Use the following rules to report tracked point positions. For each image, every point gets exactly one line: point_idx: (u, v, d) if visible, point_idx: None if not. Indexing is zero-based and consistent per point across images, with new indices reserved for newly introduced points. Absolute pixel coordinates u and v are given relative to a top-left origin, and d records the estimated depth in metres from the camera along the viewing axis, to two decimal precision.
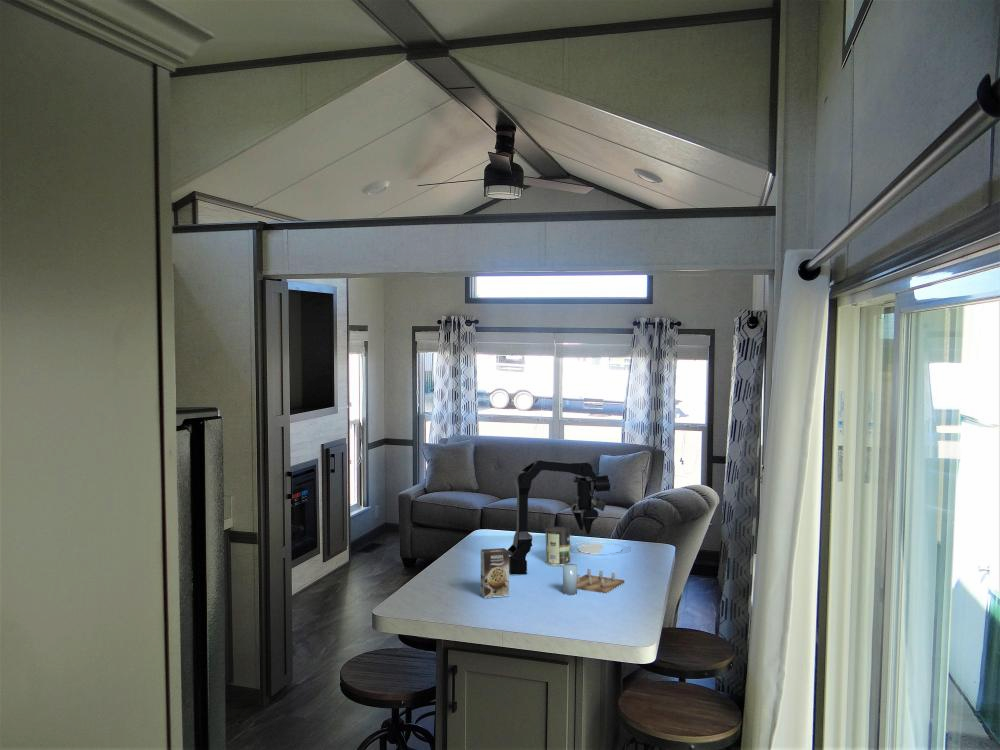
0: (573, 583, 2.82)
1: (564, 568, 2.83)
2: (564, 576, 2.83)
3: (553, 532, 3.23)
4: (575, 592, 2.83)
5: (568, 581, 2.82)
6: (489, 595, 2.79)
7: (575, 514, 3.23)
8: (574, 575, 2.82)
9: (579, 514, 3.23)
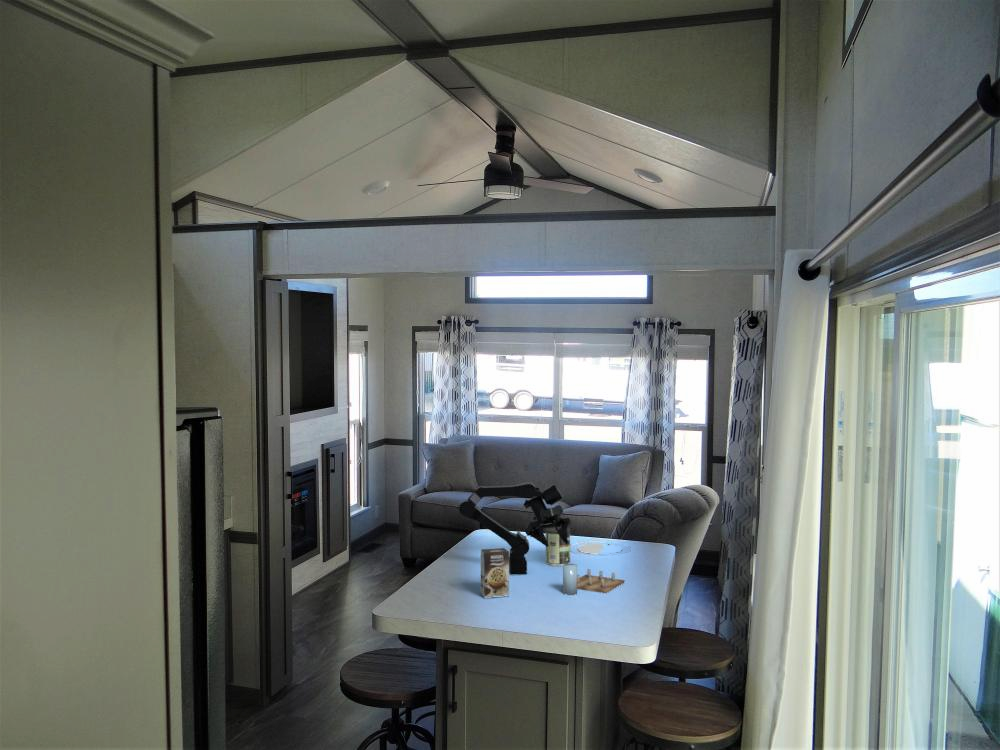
0: (573, 583, 2.82)
1: (564, 568, 2.83)
2: (564, 576, 2.83)
3: (553, 532, 3.23)
4: (575, 592, 2.83)
5: (568, 581, 2.82)
6: (489, 595, 2.79)
7: (558, 532, 3.10)
8: (574, 575, 2.82)
9: (560, 530, 3.09)
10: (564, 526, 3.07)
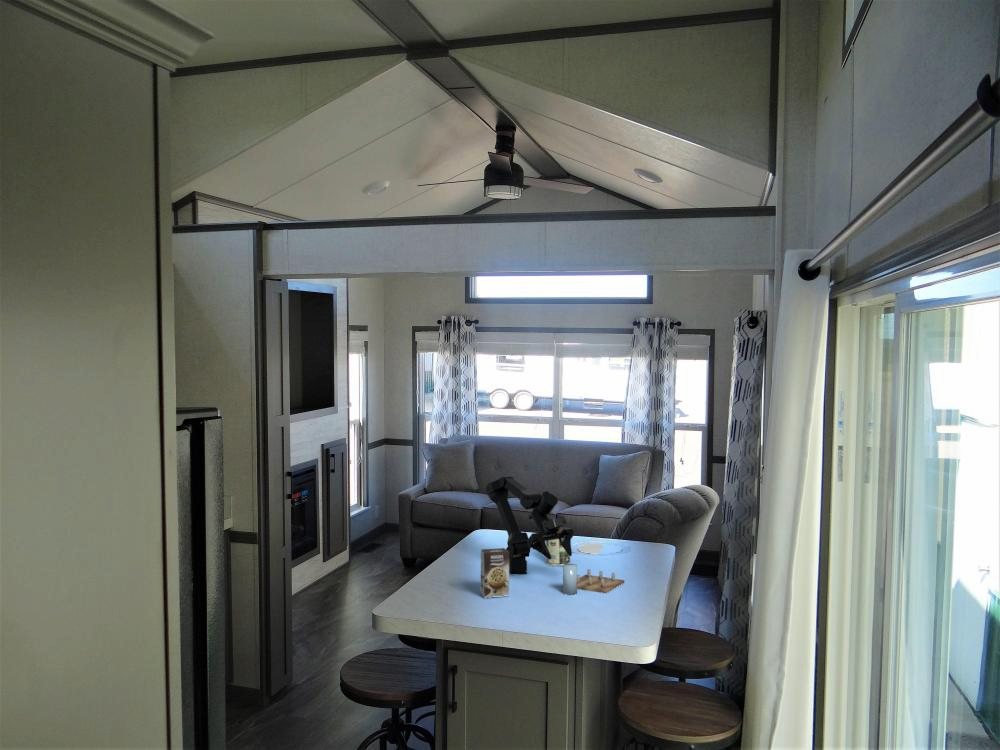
0: (573, 583, 2.82)
1: (564, 568, 2.83)
2: (564, 576, 2.83)
3: None
4: (575, 592, 2.83)
5: (568, 581, 2.82)
6: (489, 595, 2.79)
7: (562, 544, 2.96)
8: (574, 575, 2.82)
9: (563, 541, 2.95)
10: (568, 537, 2.94)
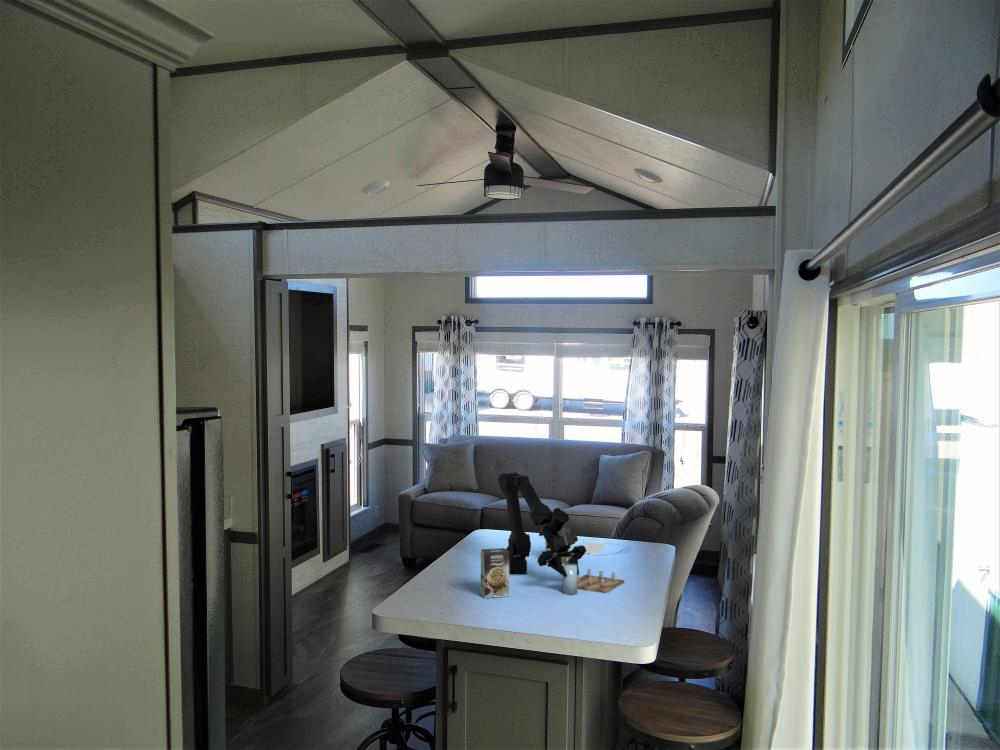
0: (573, 583, 2.82)
1: (564, 568, 2.83)
2: None
3: None
4: (575, 592, 2.83)
5: (568, 581, 2.82)
6: (489, 595, 2.79)
7: (568, 562, 2.90)
8: (574, 575, 2.82)
9: (571, 560, 2.89)
10: (575, 556, 2.87)
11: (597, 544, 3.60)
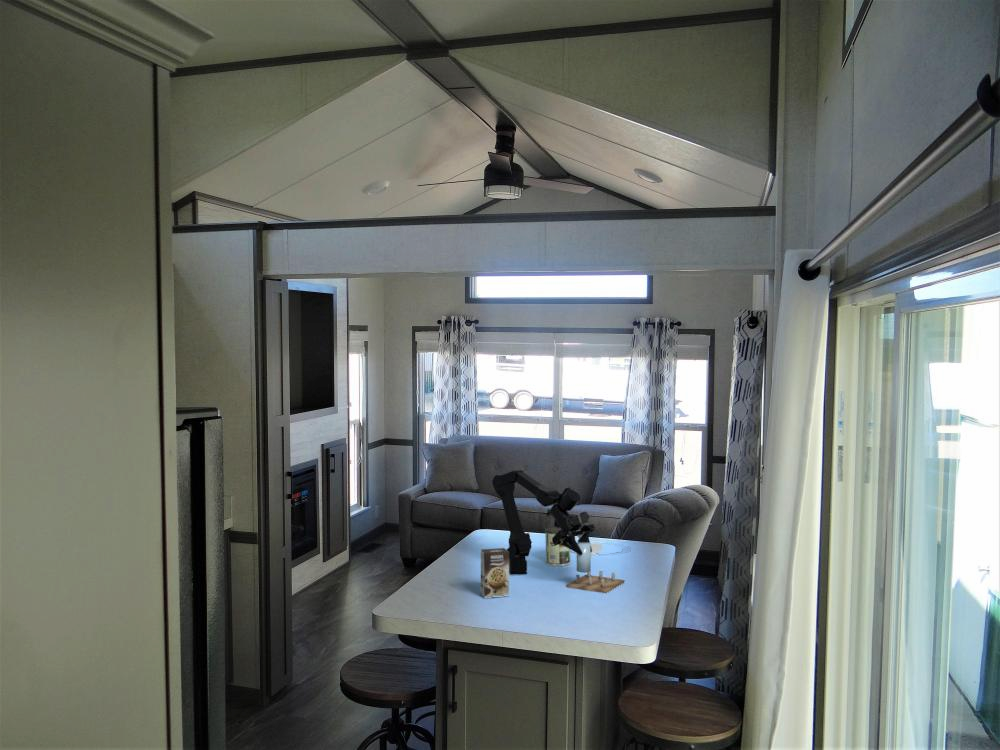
0: (588, 560, 2.87)
1: (579, 546, 2.87)
2: None
3: (553, 532, 3.23)
4: (589, 569, 2.87)
5: (583, 559, 2.86)
6: (489, 595, 2.79)
7: (579, 541, 2.94)
8: (588, 552, 2.87)
9: (581, 538, 2.93)
10: (586, 534, 2.92)
11: (597, 544, 3.60)
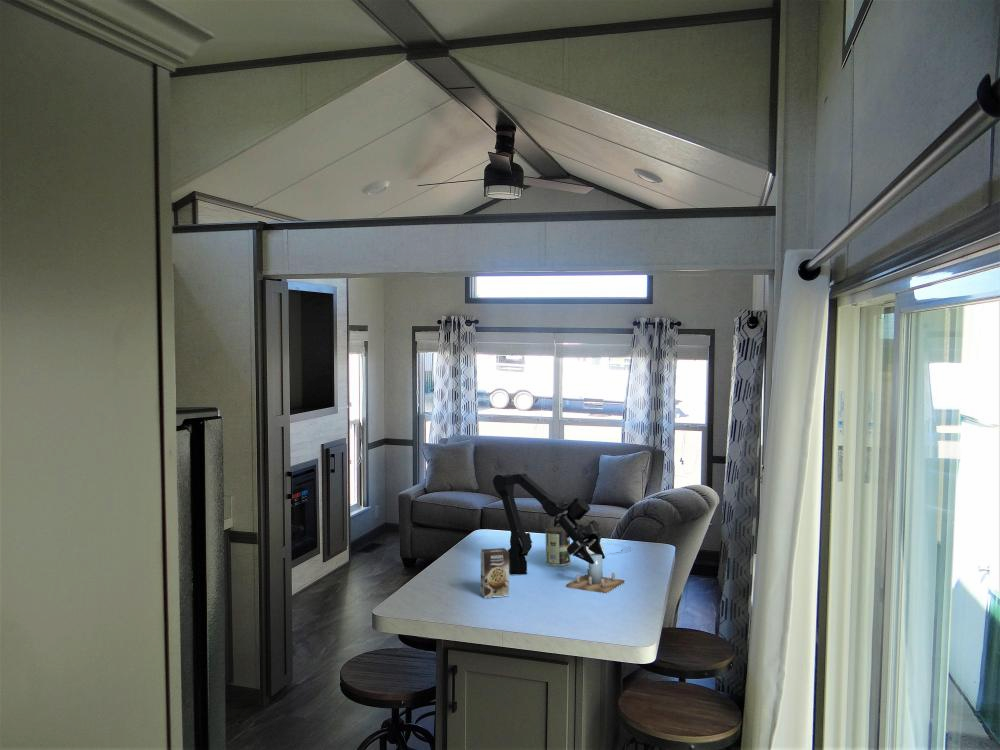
0: (601, 571, 2.93)
1: (592, 558, 2.93)
2: (592, 566, 2.93)
3: (553, 532, 3.23)
4: None
5: (596, 570, 2.92)
6: (489, 595, 2.79)
7: (590, 548, 3.01)
8: (601, 564, 2.94)
9: (593, 545, 3.01)
10: (598, 541, 3.00)
11: None
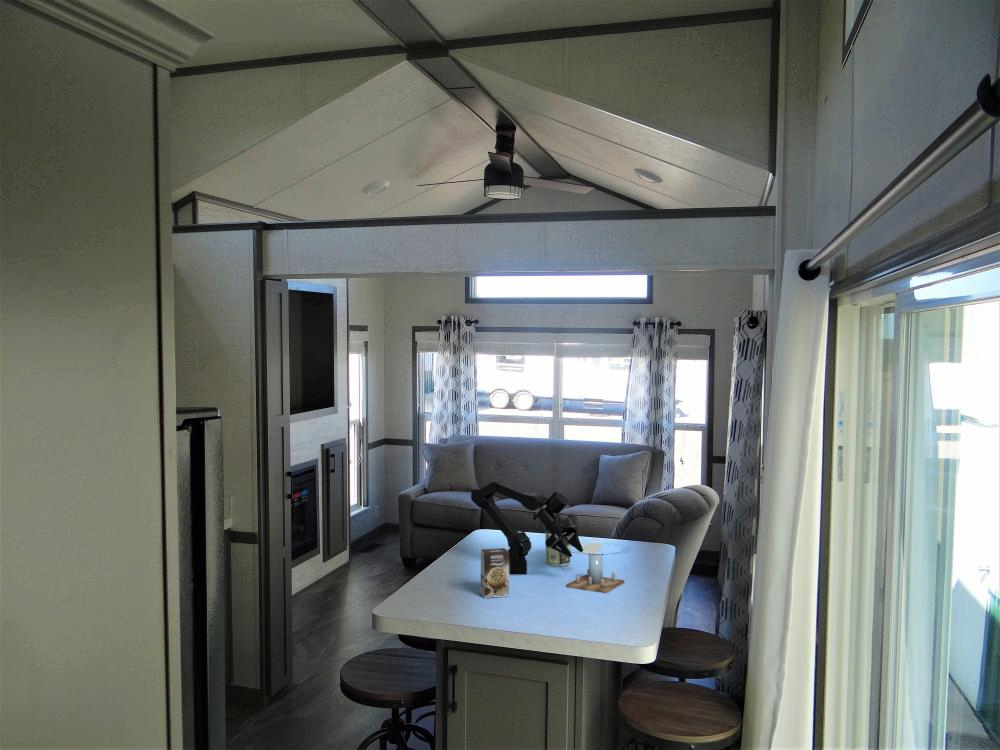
0: (601, 572, 2.93)
1: (592, 558, 2.93)
2: (592, 566, 2.93)
3: None
4: None
5: (596, 570, 2.92)
6: (489, 595, 2.79)
7: (568, 541, 3.06)
8: (601, 564, 2.94)
9: (571, 539, 3.06)
10: (576, 534, 3.05)
11: (597, 544, 3.60)
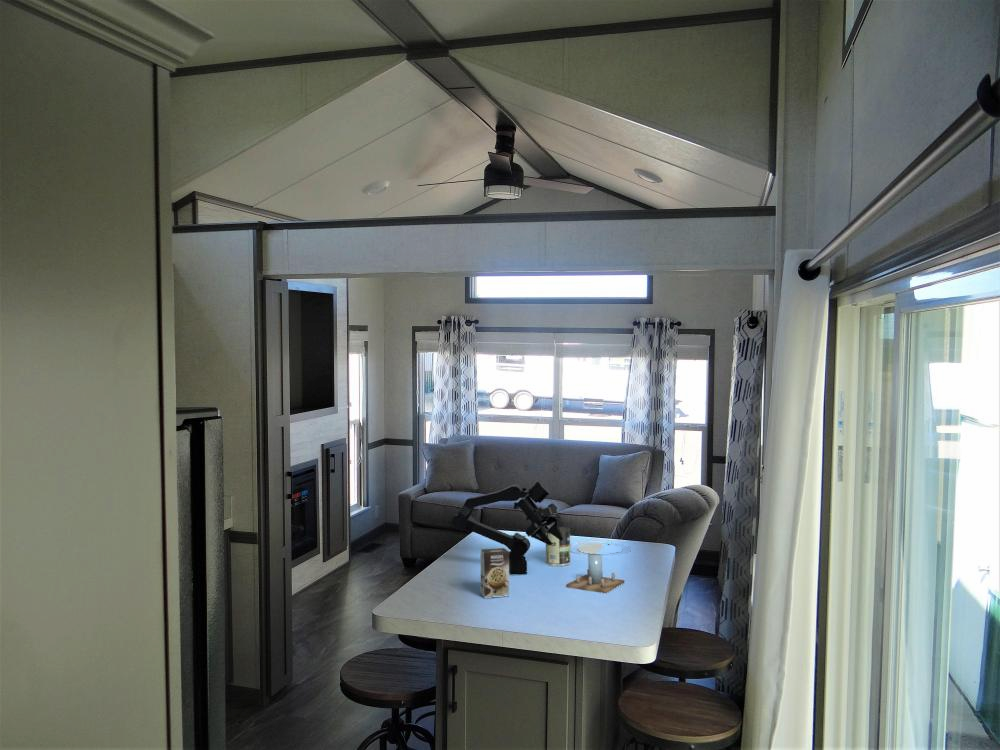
0: (600, 571, 2.93)
1: (592, 558, 2.93)
2: (592, 566, 2.93)
3: None
4: None
5: (596, 570, 2.92)
6: (489, 595, 2.79)
7: (549, 530, 3.12)
8: (601, 564, 2.94)
9: (551, 528, 3.12)
10: (557, 524, 3.11)
11: (597, 544, 3.60)
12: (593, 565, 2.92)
